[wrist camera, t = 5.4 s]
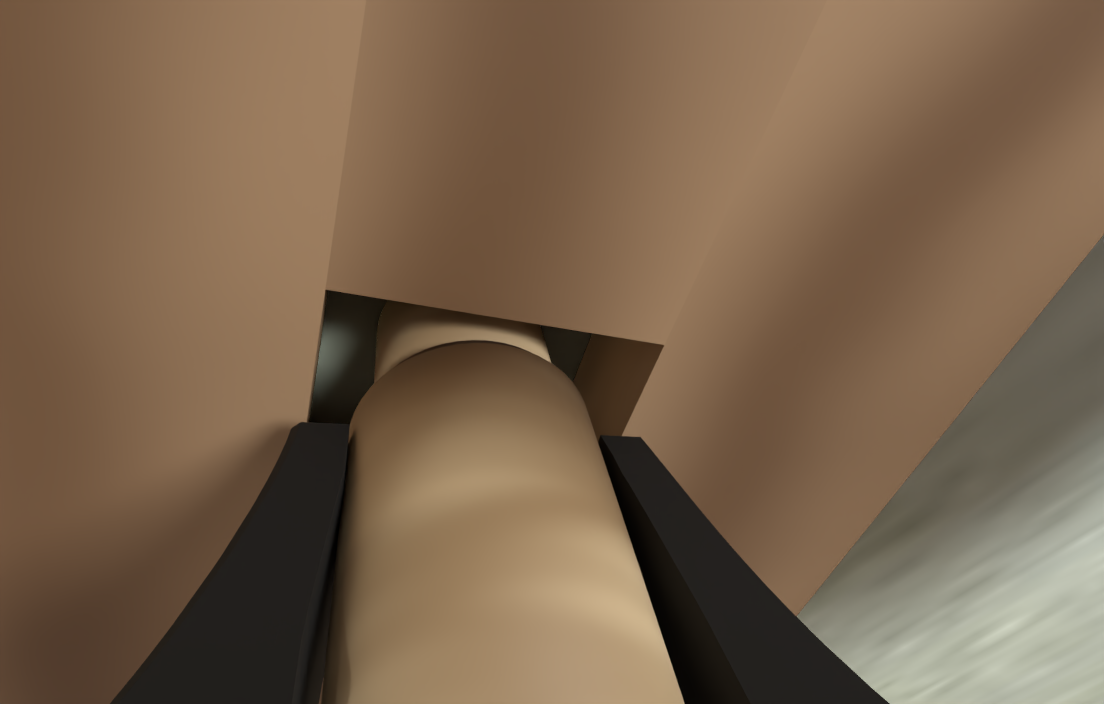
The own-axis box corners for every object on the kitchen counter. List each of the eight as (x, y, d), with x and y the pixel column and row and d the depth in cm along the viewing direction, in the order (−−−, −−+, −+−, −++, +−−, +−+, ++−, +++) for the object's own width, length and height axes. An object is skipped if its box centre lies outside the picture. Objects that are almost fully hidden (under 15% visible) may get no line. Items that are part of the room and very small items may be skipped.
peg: (575, 260, 12) (779, 740, 5) (534, 417, 14) (651, 920, 7) (366, 234, 11) (310, 770, 5) (352, 406, 13) (297, 967, 6)
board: (1101, -1, 11) (1258, 40, 9) (684, 624, 19) (715, 717, 17) (-287, -571, 6) (-641, -771, 4) (-15, 602, 14) (-82, 726, 12)
